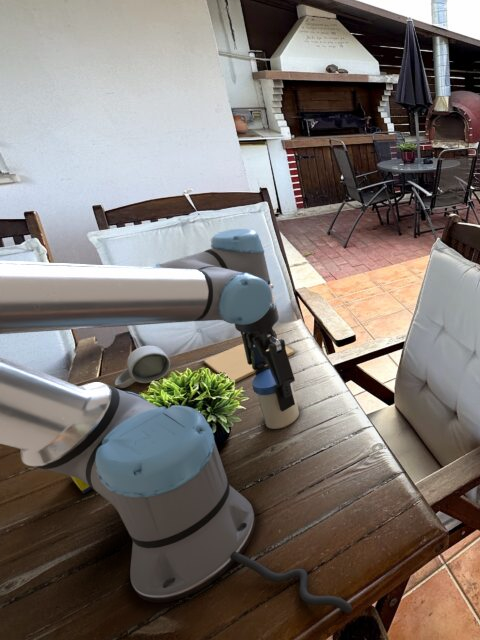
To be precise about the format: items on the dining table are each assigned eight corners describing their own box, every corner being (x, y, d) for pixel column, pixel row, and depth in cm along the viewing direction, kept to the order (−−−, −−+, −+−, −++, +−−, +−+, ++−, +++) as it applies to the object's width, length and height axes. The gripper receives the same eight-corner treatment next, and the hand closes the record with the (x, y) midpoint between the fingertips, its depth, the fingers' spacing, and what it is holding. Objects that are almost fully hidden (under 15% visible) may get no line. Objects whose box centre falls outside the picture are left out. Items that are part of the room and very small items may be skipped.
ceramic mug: (166, 361, 108) (157, 337, 105) (175, 373, 103) (165, 348, 100) (114, 382, 100) (102, 356, 97) (120, 395, 95) (108, 369, 92)
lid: (300, 380, 86) (298, 373, 85) (264, 400, 80) (262, 393, 80) (282, 369, 90) (280, 362, 89) (246, 387, 84) (244, 379, 84)
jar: (305, 414, 89) (296, 376, 86) (275, 433, 84) (264, 393, 80) (289, 403, 93) (279, 365, 89) (259, 420, 88) (248, 381, 84)
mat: (294, 353, 112) (294, 350, 111) (231, 384, 99) (231, 381, 99) (265, 336, 120) (265, 333, 120) (204, 362, 107) (203, 360, 107)
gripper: (300, 312, 76) (320, 408, 84) (249, 287, 87) (271, 374, 95) (259, 329, 70) (285, 430, 79) (209, 301, 81) (237, 392, 89)
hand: (278, 400), depth 87 cm, fingers closed on lid, 7 cm apart
